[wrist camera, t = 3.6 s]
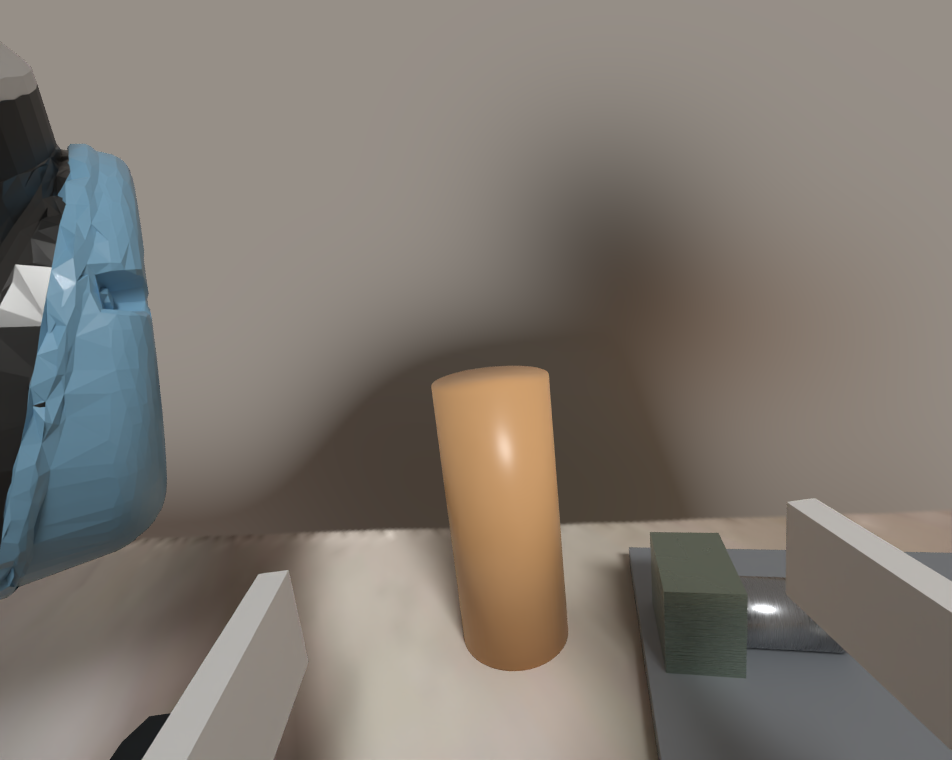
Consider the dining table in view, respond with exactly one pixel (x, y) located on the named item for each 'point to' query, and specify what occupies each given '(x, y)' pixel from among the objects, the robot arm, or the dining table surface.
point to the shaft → (721, 609)
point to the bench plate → (777, 694)
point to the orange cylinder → (503, 513)
